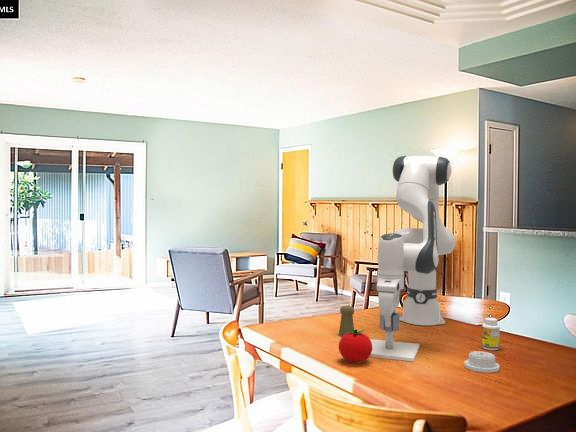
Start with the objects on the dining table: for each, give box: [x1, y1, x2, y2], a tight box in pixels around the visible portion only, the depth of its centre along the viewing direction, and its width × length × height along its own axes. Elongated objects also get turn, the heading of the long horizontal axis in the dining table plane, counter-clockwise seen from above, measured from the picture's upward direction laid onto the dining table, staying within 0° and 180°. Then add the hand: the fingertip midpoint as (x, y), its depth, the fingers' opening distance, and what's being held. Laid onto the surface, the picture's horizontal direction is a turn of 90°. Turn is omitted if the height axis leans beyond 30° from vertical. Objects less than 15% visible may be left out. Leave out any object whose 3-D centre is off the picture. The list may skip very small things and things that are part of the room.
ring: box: [379, 311, 401, 332], centre depth 176 cm, size 6×6×5 cm
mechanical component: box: [463, 350, 500, 374], centre depth 159 cm, size 10×4×10 cm
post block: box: [369, 330, 420, 362], centre depth 176 cm, size 18×18×10 cm
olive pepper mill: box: [338, 305, 355, 338], centre depth 196 cm, size 6×6×11 cm
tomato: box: [338, 329, 372, 364], centre depth 164 cm, size 10×10×10 cm
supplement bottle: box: [481, 317, 501, 351], centre depth 180 cm, size 6×6×10 cm
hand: (389, 324), depth 176 cm, fingers closed on ring, 6 cm apart
